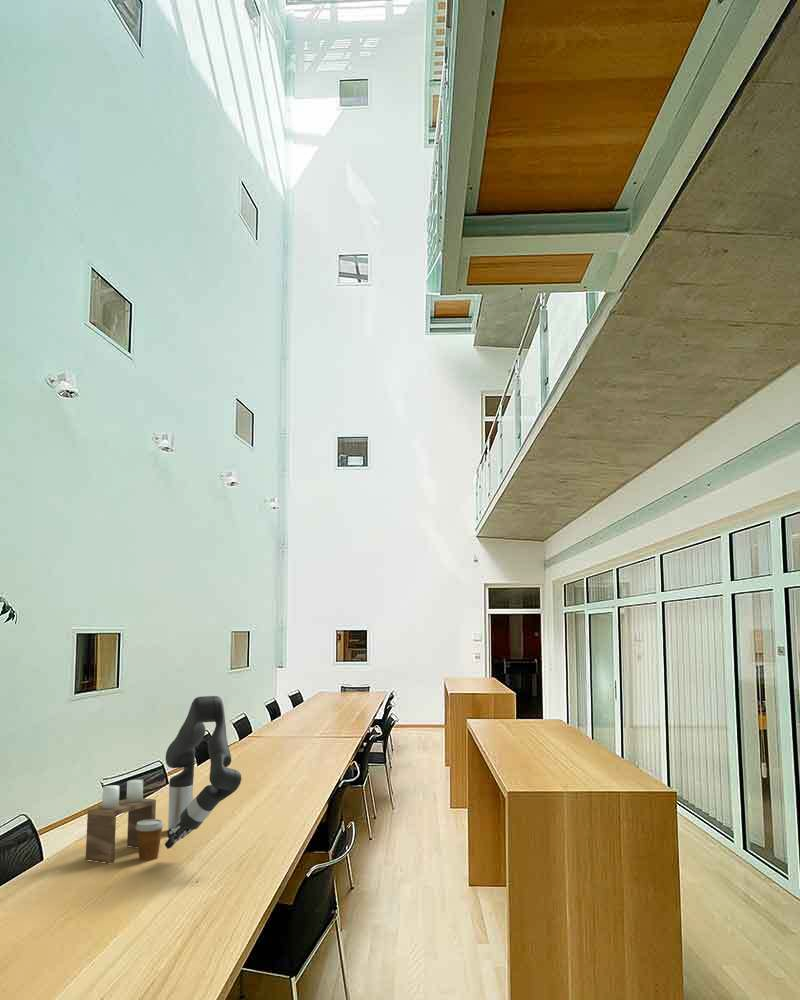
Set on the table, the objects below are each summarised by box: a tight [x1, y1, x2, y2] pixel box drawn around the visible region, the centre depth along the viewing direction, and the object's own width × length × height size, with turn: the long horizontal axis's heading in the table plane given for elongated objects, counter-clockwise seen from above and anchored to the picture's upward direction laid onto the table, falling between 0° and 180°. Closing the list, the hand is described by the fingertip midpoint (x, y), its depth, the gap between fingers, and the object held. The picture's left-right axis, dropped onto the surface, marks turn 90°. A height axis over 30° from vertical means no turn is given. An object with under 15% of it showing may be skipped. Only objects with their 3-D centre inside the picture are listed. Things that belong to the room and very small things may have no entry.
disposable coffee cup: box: [135, 818, 165, 861], centre depth 290 cm, size 10×10×12 cm
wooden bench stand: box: [85, 797, 157, 864], centre depth 296 cm, size 22×11×17 cm, turn 155°
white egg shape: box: [126, 779, 144, 803], centre depth 303 cm, size 6×6×7 cm
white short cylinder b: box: [101, 784, 121, 809], centre depth 292 cm, size 6×6×7 cm
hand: (167, 846), depth 287 cm, fingers closed
